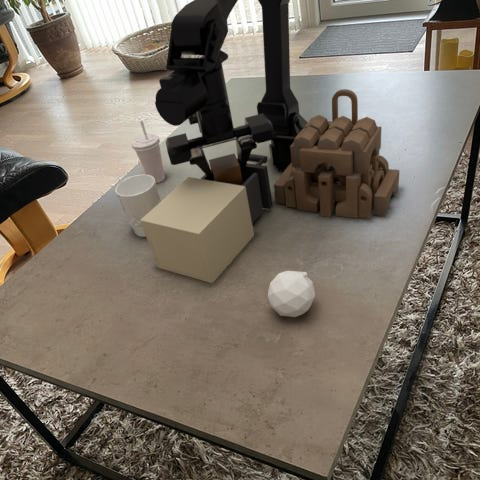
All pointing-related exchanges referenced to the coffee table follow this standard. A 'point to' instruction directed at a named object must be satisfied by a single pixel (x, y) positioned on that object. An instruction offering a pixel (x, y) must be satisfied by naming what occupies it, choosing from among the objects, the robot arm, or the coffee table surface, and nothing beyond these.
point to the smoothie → (149, 154)
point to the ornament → (291, 293)
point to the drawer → (256, 185)
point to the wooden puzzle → (338, 167)
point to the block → (226, 169)
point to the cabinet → (199, 228)
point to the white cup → (138, 199)
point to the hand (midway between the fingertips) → (228, 181)
